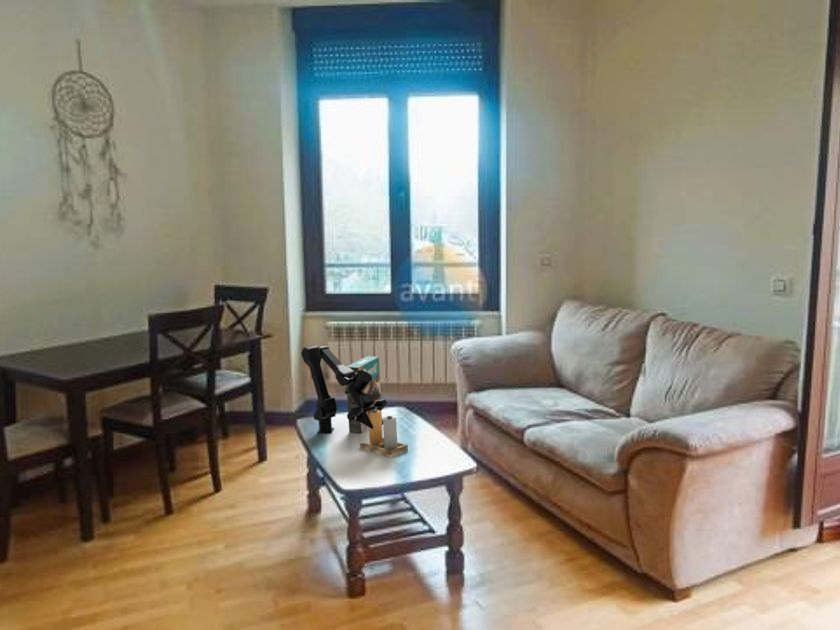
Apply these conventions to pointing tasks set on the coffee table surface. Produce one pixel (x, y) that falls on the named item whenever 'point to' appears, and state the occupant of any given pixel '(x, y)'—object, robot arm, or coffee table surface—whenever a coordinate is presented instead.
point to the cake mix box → (372, 368)
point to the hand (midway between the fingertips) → (377, 426)
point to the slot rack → (380, 449)
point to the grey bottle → (390, 432)
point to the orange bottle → (375, 427)
